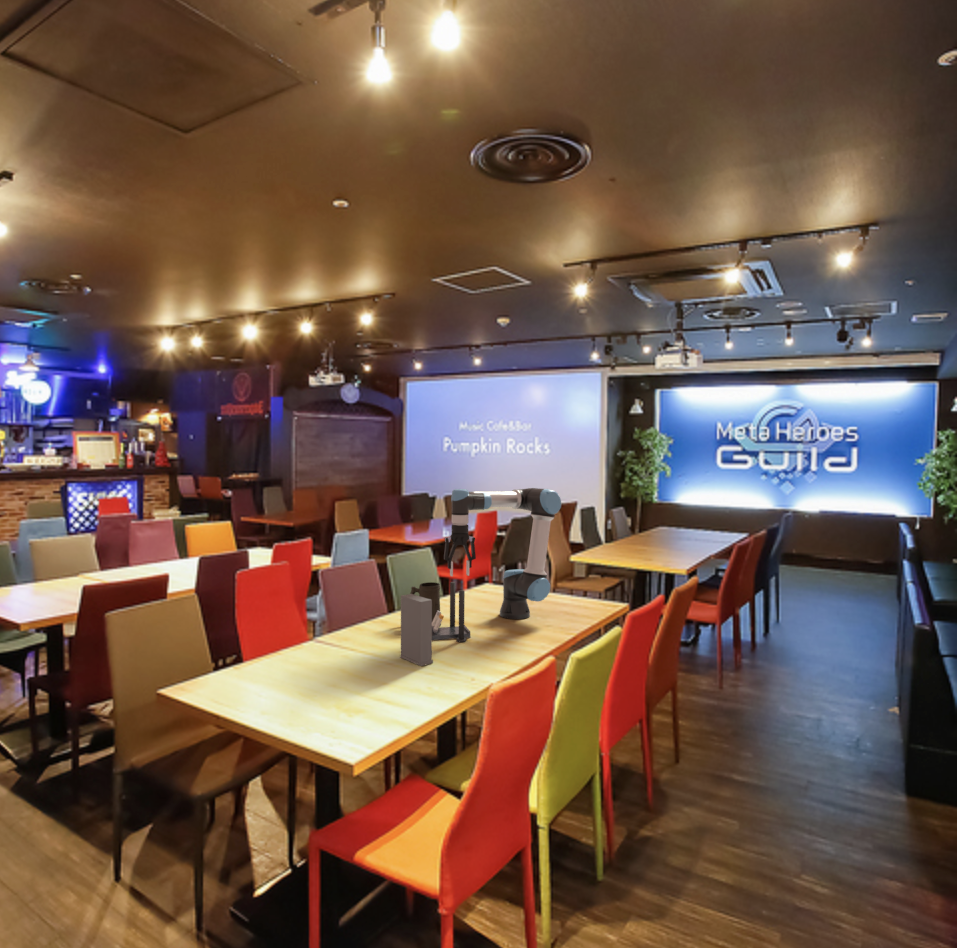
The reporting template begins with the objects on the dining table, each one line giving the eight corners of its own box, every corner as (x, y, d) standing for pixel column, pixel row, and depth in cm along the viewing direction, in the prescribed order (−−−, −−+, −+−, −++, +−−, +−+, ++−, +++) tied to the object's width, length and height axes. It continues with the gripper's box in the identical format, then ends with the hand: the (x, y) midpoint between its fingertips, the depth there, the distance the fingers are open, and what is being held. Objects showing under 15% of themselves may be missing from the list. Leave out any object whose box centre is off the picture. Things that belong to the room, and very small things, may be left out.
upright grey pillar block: (433, 663, 251) (433, 599, 250) (420, 666, 247) (421, 602, 246) (412, 654, 261) (413, 593, 260) (400, 657, 257) (400, 595, 256)
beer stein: (444, 622, 310) (441, 581, 309) (440, 628, 299) (438, 585, 299) (412, 623, 312) (410, 582, 311) (408, 629, 301) (405, 587, 300)
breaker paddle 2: (435, 631, 288) (442, 614, 288) (436, 633, 284) (444, 616, 285) (431, 630, 287) (439, 613, 288) (433, 632, 284) (441, 615, 285)
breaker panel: (464, 630, 297) (464, 624, 297) (470, 637, 286) (470, 631, 285) (412, 633, 291) (412, 627, 291) (416, 641, 279) (416, 635, 279)
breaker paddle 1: (432, 627, 294) (440, 611, 294) (434, 630, 290) (441, 613, 291) (429, 626, 293) (437, 610, 294) (430, 628, 290) (438, 611, 290)
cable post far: (456, 628, 300) (456, 581, 300) (458, 630, 296) (458, 583, 295) (446, 628, 299) (447, 581, 298) (448, 631, 295) (449, 583, 294)
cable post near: (465, 639, 283) (465, 589, 282) (467, 642, 279) (467, 591, 278) (455, 640, 282) (455, 589, 281) (457, 642, 278) (457, 592, 277)
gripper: (479, 522, 293) (478, 573, 294) (436, 523, 288) (436, 574, 289) (483, 524, 286) (483, 576, 287) (439, 525, 281) (439, 578, 282)
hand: (459, 575), depth 288 cm, fingers open, 7 cm apart
